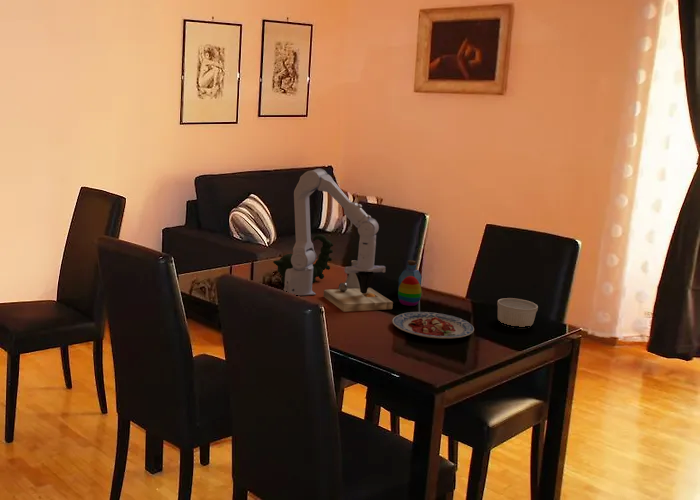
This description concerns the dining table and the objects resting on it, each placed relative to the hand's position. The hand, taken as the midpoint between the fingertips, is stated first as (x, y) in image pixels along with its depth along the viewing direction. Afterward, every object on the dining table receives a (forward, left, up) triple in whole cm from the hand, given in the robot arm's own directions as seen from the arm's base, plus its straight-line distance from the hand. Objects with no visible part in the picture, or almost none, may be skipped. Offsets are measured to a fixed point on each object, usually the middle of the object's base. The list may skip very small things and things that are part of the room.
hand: (363, 292), depth 278 cm
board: (-2, 0, -3) cm, 4 cm away
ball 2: (+3, 0, -2) cm, 4 cm away
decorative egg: (+16, -4, -4) cm, 17 cm away
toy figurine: (-12, +29, -4) cm, 32 cm away
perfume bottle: (+23, +9, -4) cm, 25 cm away
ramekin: (+42, -31, -4) cm, 52 cm away
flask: (+5, +19, -4) cm, 20 cm away
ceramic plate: (+10, -32, -4) cm, 34 cm away
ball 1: (-5, +6, +1) cm, 8 cm away
